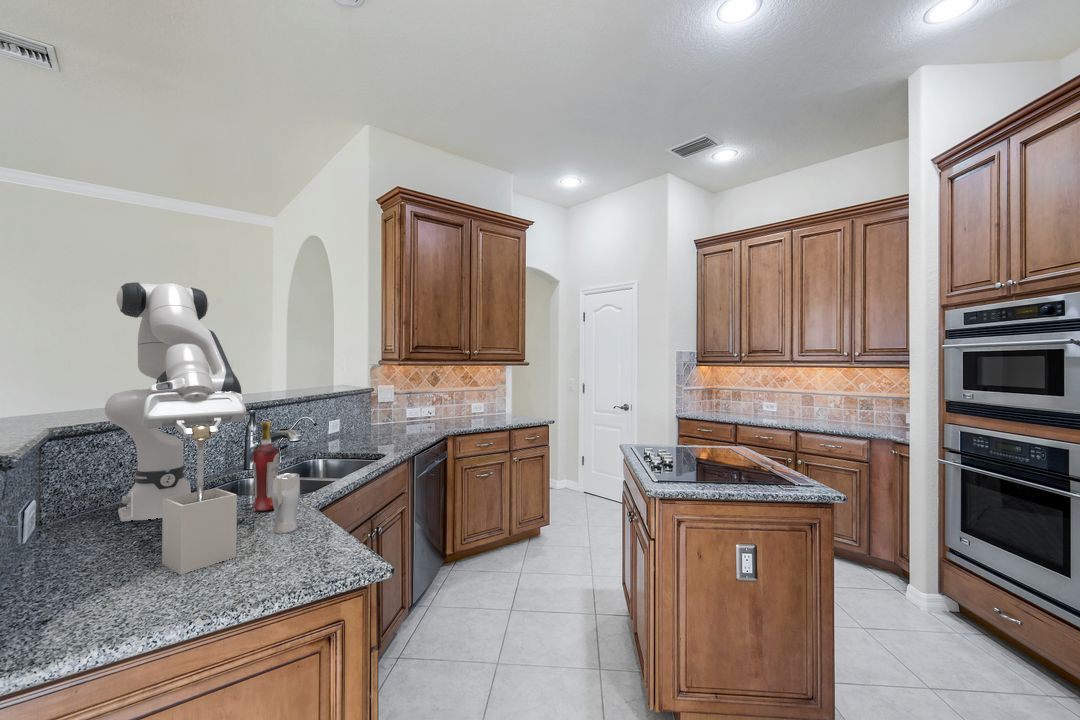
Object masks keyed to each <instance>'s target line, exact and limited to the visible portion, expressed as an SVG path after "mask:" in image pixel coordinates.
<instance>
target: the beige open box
mask: <svg viewBox="0 0 1080 720" xmlns="http://www.w3.org/2000/svg"><path fill="white" fill-rule="evenodd" d="M212 498H214V499H212ZM208 499H210V500H208ZM203 500H205V501H201V502H197V491H194V492H191V493H189V494H183V495H178V496H173V497H168V498H163V518H161V519H162V531H161V533H162V534H161V536H162V537H161V564H162V565H163V566H166V567H167V568H169V569H170V570H171V571H174V572H175V573H176V574H178V575H180V576H182V574H183V575H185V573H186V574H188V572H189V573H191V572H190V571H192V572H195V571H198V570H197V569H199V570H201V569H200V568H202V569H204V568H203V567H205V568H207V567H206V566H208V567H210V566H209V565H211V566H214V565H213V564H215V563H218V564H220V563H219V562H221V563H223V562H222V561H224V562H227V561H230V560H233V559H232V558H234V559H236V558H237V541H238V540H237V539H238V538H237V537H238V536H237V533H238V532H237V530H238V529H237V525H238V524H237V522H238V521H237V518H238V516H237V515H238V514H237V513H238V512H237V509H238V507H237V506H238V503H237V502H238V494H236V493H233V492H230V491H228V490H223V489H220V488H218V487H216V488H215V487H213V488H210V489H205V490H204V489H203ZM193 502H196V503H193ZM188 503H191V504H188ZM184 504H186V505H184ZM235 557H236V558H235ZM229 559H230V560H229ZM226 560H227V561H226ZM215 565H216V564H215ZM194 570H195V571H194Z"/></svg>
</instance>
